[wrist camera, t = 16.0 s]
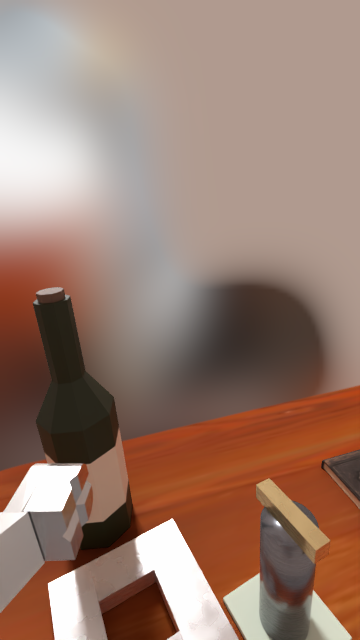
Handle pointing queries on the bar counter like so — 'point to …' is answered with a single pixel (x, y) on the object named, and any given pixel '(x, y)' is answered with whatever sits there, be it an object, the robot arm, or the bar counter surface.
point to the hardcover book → (346, 473)
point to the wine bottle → (81, 422)
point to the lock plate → (139, 589)
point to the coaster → (243, 606)
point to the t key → (287, 563)
